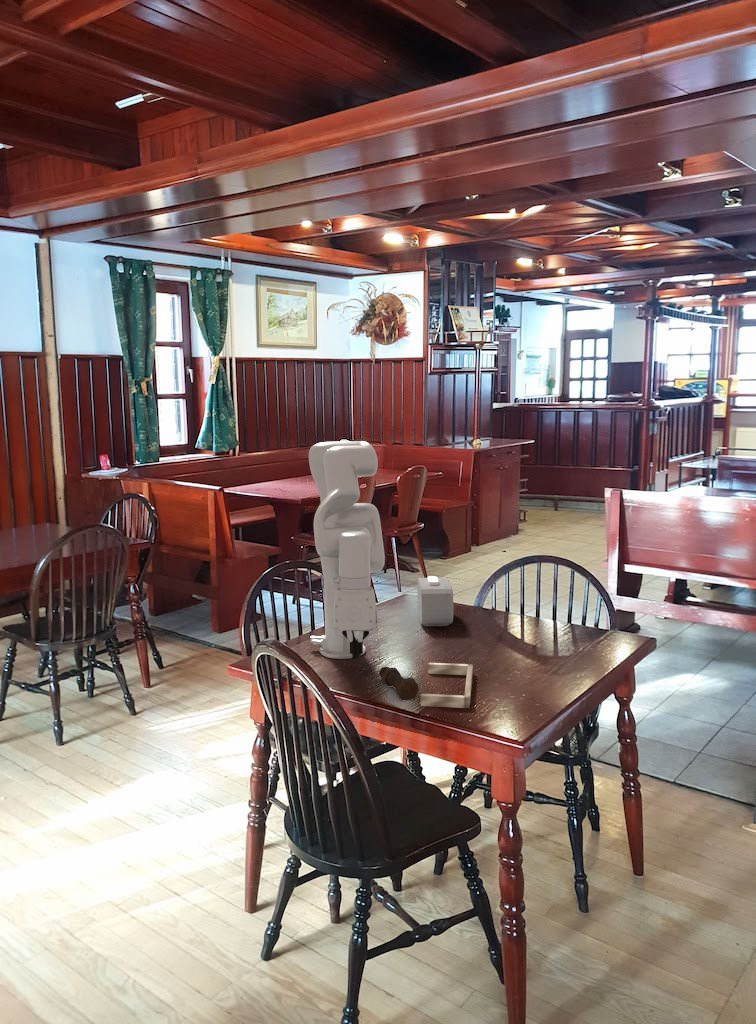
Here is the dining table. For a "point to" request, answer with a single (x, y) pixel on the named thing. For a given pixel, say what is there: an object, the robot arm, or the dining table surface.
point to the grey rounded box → (435, 601)
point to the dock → (449, 700)
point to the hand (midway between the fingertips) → (356, 656)
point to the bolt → (399, 683)
